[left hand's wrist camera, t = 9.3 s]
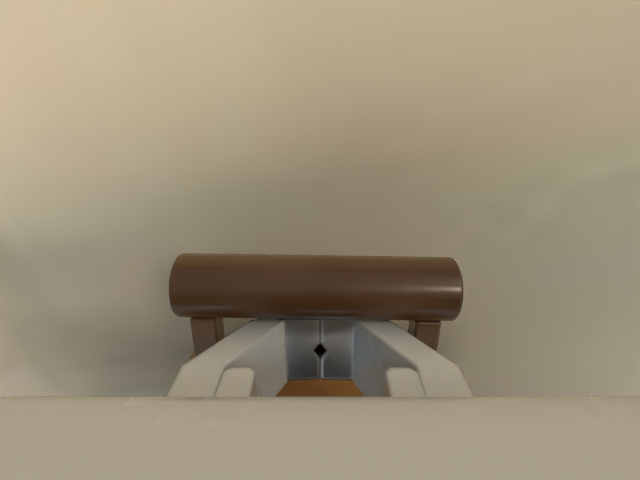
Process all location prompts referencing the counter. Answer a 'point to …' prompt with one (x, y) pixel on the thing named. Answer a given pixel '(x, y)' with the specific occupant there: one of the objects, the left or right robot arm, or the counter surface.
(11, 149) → the counter surface
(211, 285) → the wooden drawer
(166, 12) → the counter surface
